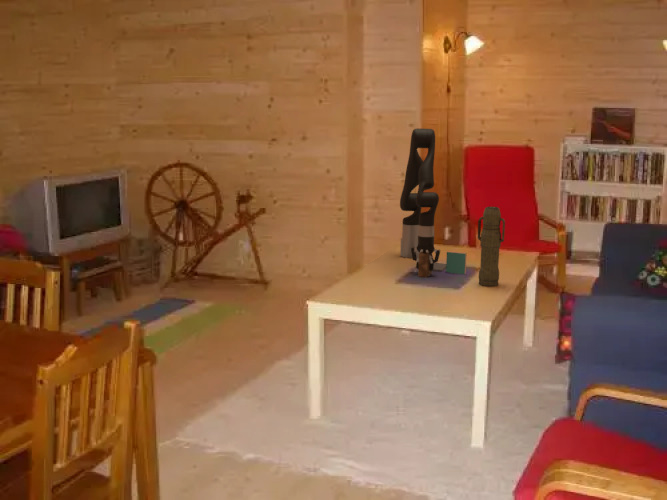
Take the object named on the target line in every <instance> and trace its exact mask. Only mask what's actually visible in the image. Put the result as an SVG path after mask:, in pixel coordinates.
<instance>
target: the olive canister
mask: <svg viewBox="0 0 667 500" xmlns="http://www.w3.org/2000/svg"><path fill="white" fill-rule="evenodd" d="M501 215H502V214H501V211H500V208H499V207H498V206H487V207H485V208H484V210H483V213H482V216H480V218H478V220H477V240H479V241H480V247H481V248H480V250H481V251H480V268H479V271H478V285H479V286H483V287H489V288H491V287H492V288H493V287H497V286H499V280H500V270H499V269H500V268H499V263H500V262H499V261H500V248H501V245H502V244H501V243H504V240H505V233H506V221H505V219H504V218H502V216H501ZM501 221H502V233H501ZM481 227H482V228H481Z"/></svg>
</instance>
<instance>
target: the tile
mask: <svg viewBox="0 0 667 500" xmlns="http://www.w3.org/2000/svg"><path fill="white" fill-rule="evenodd" d="M445 262H446V263H445V264H446V268H445V273H446V272H449V274H455V275H456V274H458V275H466V274H467V273H466V272H467V252H460V251H452V250H451V251H449V250H448V251H446V261H445Z"/></svg>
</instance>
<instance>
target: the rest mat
mask: <svg viewBox="0 0 667 500" xmlns="http://www.w3.org/2000/svg"><path fill="white" fill-rule="evenodd" d="M434 270H437V271H436V272H443V271H444V270H446V263H441V262H436V263H434V269H433V270H432V271H434ZM442 270H443V271H442Z"/></svg>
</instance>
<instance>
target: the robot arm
mask: <svg viewBox="0 0 667 500" xmlns="http://www.w3.org/2000/svg"><path fill="white" fill-rule="evenodd" d="M419 149H427V154H426V157H425V158H424V160H423V159H422V157H421V155H420V153H419V151H418V150H419ZM435 150H436V133H435V130H434V129H432V128H413V130H412V131H411V137H410V146H409V154H408V158H407V159H408V160H407V164H406V171H405V177H404V183H403V187H402V191H401V195H400V200H399V207H400V209H401V211H404V212H413V213H412V214H410V215H408V216H405V217H403V219H402V233H401V234H402V236H401V238H400V257H401V258H406V259H412V260H413V261H415V262H416V264H415V266H416V269H417V270H418V265H419V253H429V257H428V258H429V260H430V271H431V272H433V271H434V270H433V269H434V263H438V262H439V258H440V254H441V250H440V249H437V248H435V215H436V212H437V208H438V206H439V205H438V204H439V202H440V196H439V194H438V193H437V192H435V191H434V192H433V191H427V190H431V189H433V188H434V186H435V175H434V173H435V172H434V167H435V166H434V163H435ZM417 187H418V188H417ZM416 188H417V192H413V190H414V189H416ZM425 191H427V192H425ZM422 208H429V209H428V210H426V211H423V212H422ZM433 254H435V255H433Z"/></svg>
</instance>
